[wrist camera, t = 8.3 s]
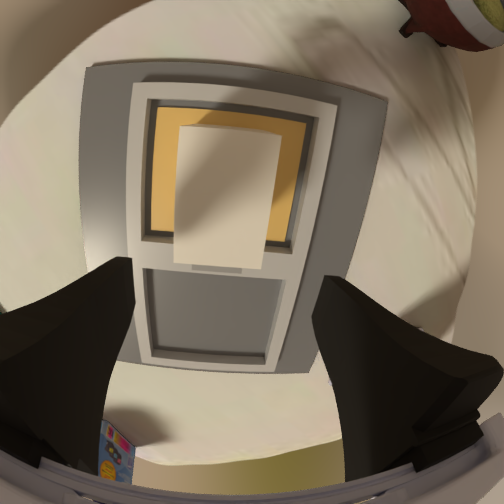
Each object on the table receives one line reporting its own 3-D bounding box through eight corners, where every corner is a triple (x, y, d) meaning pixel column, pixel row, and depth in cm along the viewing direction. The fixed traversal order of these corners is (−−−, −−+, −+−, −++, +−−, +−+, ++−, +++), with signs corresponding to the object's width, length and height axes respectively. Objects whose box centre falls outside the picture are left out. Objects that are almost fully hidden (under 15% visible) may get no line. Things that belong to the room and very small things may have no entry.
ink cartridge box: (138, 448, 35) (130, 522, 22) (111, 445, 35) (100, 515, 22) (108, 419, 30) (90, 507, 17) (79, 416, 30) (58, 497, 17)
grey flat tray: (384, 101, 16) (395, 101, 14) (307, 369, 27) (310, 380, 25) (89, 68, 13) (79, 65, 12) (109, 355, 24) (105, 366, 23)
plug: (263, 130, 16) (281, 135, 10) (249, 231, 19) (259, 280, 13) (196, 123, 15) (179, 126, 10) (188, 226, 18) (173, 274, 13)
